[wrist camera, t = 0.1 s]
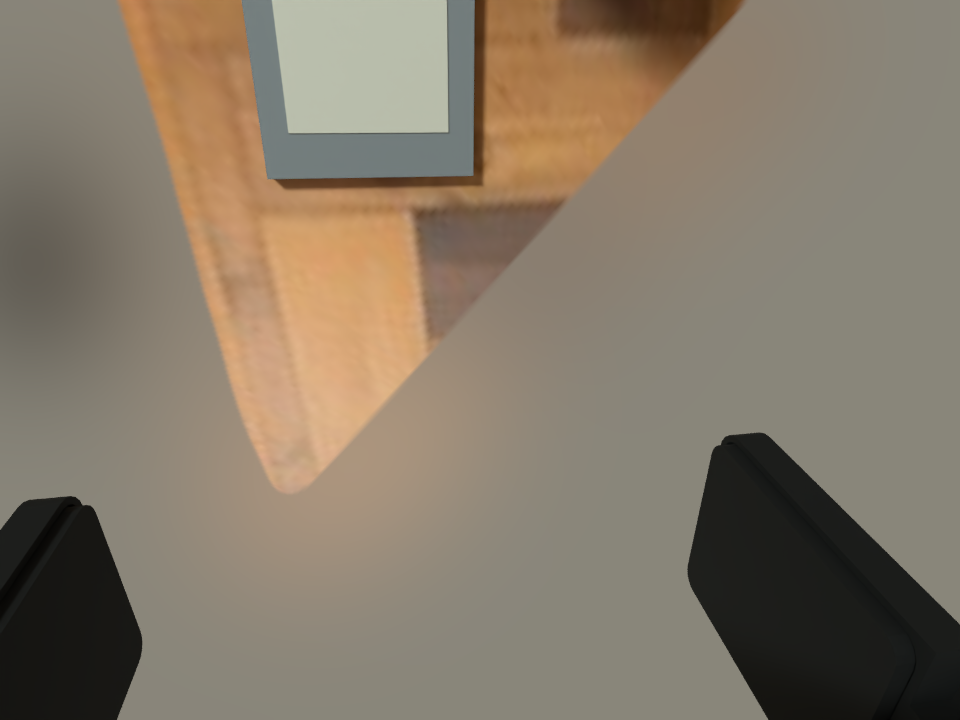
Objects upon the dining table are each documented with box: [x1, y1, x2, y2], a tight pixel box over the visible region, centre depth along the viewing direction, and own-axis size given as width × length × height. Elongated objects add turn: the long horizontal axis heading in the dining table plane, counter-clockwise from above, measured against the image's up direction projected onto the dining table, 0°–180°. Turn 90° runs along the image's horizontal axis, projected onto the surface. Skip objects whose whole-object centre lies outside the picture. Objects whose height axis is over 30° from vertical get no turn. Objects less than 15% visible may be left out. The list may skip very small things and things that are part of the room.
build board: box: [242, 0, 475, 179], centre depth 33 cm, size 14×12×1 cm
